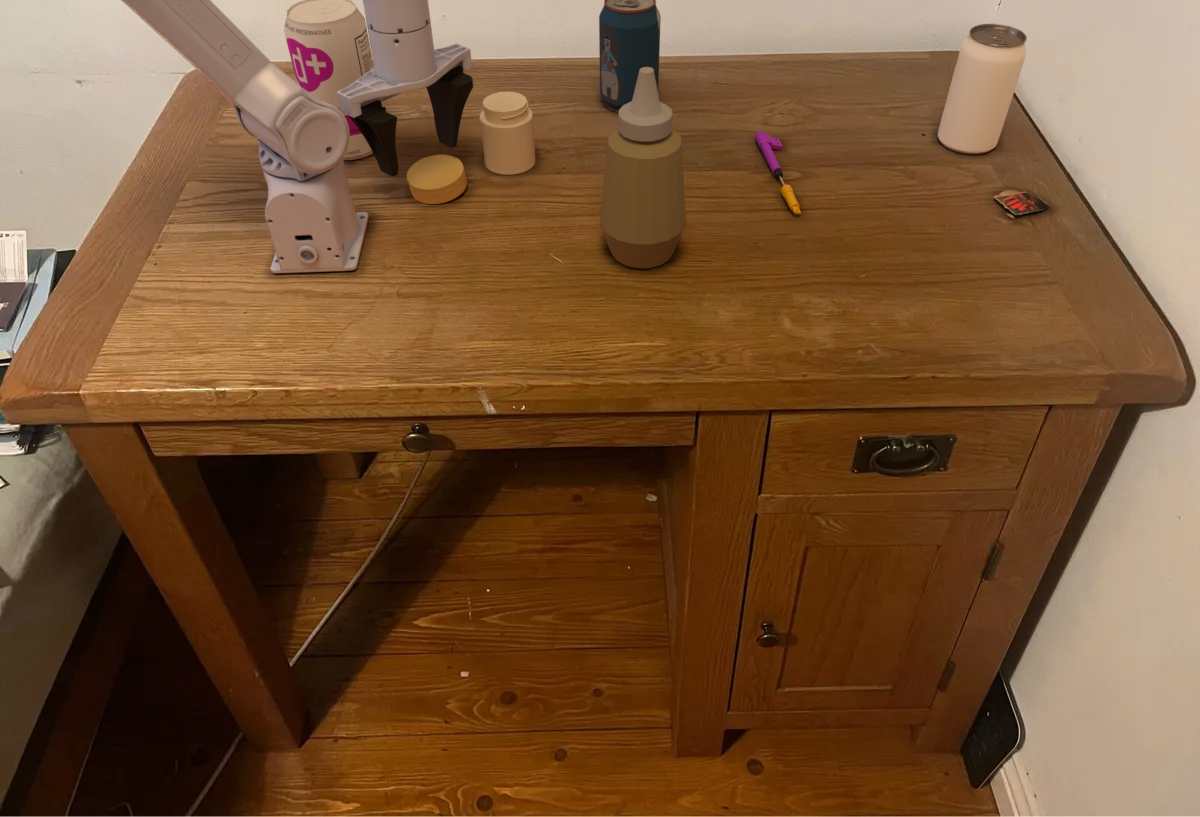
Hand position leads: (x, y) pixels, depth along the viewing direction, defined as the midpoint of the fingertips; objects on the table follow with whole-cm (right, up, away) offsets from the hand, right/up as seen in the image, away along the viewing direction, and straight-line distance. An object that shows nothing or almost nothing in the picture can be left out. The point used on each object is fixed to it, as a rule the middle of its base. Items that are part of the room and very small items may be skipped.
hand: (419, 158), depth 92 cm
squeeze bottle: (+22, -10, -5) cm, 25 cm away
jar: (+8, +2, +8) cm, 12 cm away
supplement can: (-10, +4, +11) cm, 15 cm away
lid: (+1, -1, +2) cm, 3 cm away
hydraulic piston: (+38, -1, +5) cm, 38 cm away
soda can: (+22, +11, +17) cm, 30 cm away
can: (+59, +4, +10) cm, 60 cm away
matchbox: (+61, -5, +1) cm, 61 cm away
